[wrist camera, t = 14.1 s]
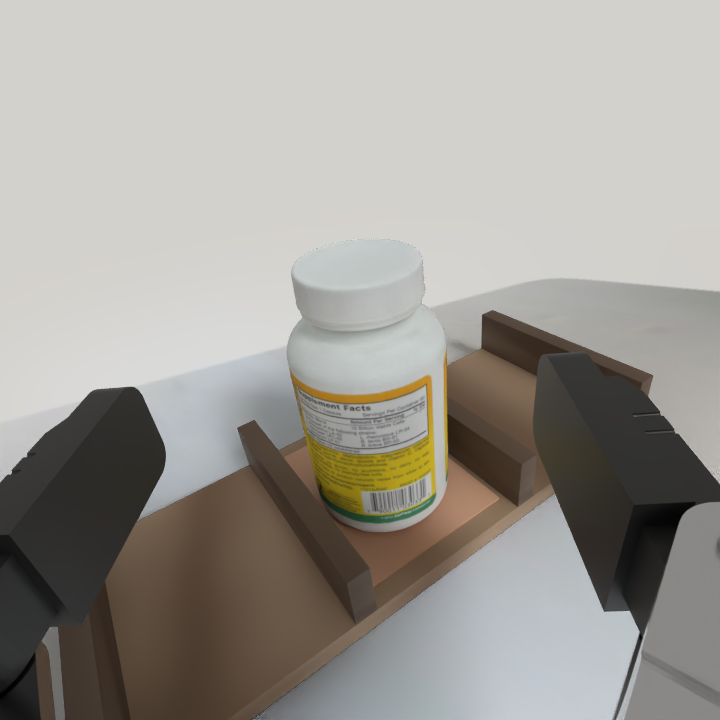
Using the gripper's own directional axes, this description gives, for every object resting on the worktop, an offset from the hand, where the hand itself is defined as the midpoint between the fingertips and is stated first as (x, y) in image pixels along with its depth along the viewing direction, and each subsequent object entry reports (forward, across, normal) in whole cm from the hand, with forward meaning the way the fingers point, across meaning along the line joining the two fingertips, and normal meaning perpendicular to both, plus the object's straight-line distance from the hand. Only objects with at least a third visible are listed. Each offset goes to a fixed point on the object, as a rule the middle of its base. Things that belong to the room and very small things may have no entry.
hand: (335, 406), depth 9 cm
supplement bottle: (+6, 0, +9) cm, 11 cm away
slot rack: (+6, 0, +10) cm, 12 cm away
